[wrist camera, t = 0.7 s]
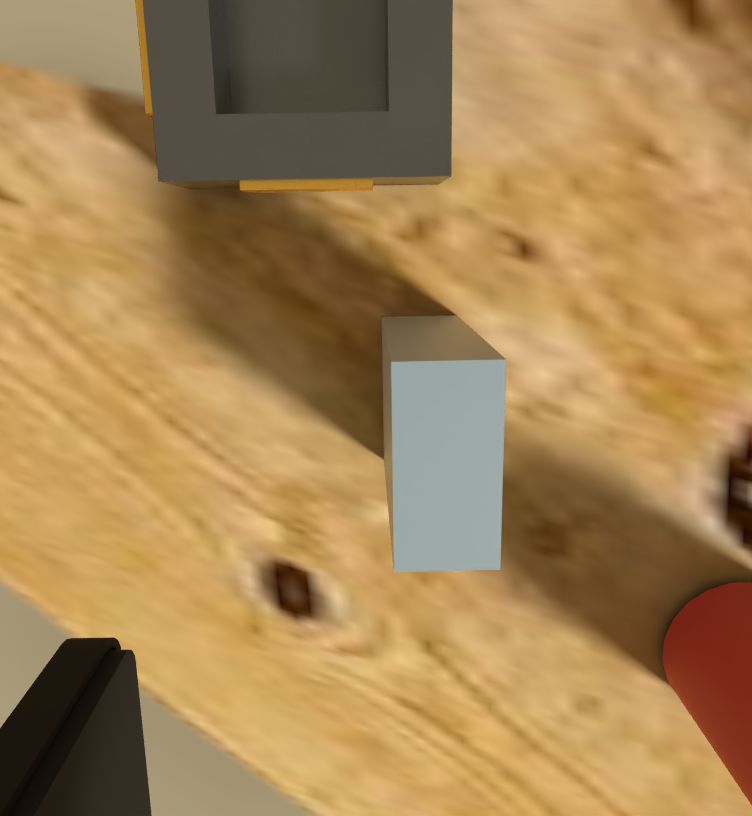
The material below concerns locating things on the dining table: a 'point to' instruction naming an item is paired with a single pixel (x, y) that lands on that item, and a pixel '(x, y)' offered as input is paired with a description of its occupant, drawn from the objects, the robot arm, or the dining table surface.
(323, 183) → the rack
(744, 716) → the beer can
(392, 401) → the block
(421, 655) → the dining table surface
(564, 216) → the dining table surface
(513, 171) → the dining table surface
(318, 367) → the dining table surface
